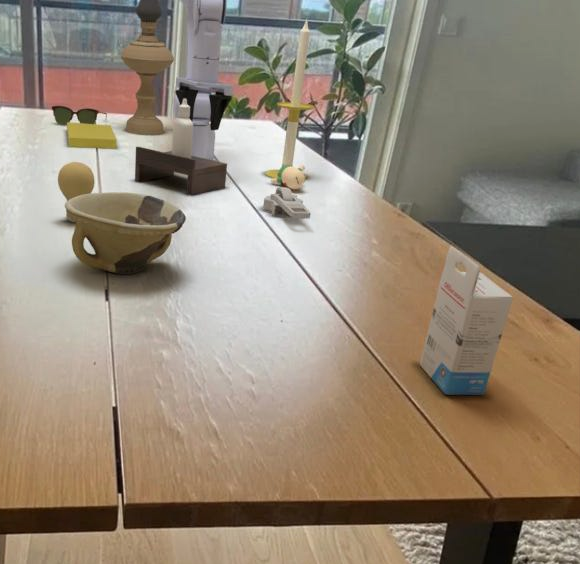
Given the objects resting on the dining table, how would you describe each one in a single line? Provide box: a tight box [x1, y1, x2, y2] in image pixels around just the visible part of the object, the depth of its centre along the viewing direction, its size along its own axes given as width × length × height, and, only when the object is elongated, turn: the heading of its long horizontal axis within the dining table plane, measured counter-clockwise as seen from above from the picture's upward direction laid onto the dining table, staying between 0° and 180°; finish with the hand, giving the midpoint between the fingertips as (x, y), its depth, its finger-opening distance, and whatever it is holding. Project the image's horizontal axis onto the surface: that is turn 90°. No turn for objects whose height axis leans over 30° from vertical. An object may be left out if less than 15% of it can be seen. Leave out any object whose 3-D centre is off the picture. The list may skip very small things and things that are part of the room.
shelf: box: [134, 146, 228, 196], centre depth 167 cm, size 12×16×7 cm
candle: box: [264, 19, 315, 180], centre depth 175 cm, size 10×10×32 cm
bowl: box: [64, 191, 187, 275], centre depth 115 cm, size 18×18×10 cm
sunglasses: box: [51, 105, 108, 126], centre depth 229 cm, size 14×15×5 cm
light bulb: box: [57, 161, 96, 223], centre depth 136 cm, size 6×6×10 cm
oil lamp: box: [119, 0, 175, 136], centre depth 213 cm, size 15×15×40 cm
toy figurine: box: [270, 164, 306, 191], centre depth 172 cm, size 8×4×12 cm
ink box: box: [419, 245, 514, 396], centre depth 87 cm, size 9×5×15 cm, turn 5°
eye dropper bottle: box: [171, 99, 193, 158], centre depth 163 cm, size 4×6×12 cm
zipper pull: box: [262, 186, 312, 219], centre depth 149 cm, size 8×18×4 cm, turn 7°
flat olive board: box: [66, 121, 117, 150], centre depth 207 cm, size 12×2×24 cm
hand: (201, 127), depth 171 cm, fingers open, 7 cm apart
